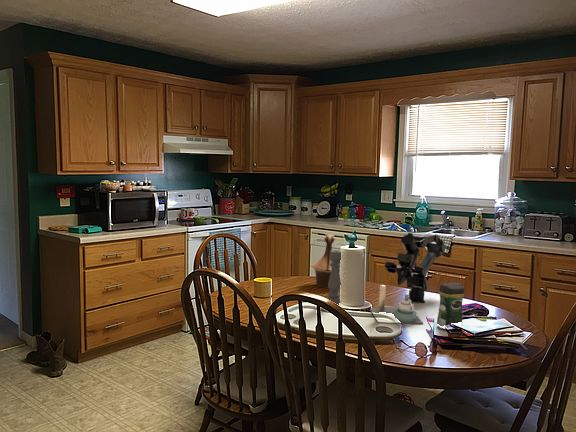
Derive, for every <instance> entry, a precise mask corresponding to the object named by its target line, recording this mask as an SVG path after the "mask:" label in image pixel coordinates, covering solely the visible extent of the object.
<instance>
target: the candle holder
mask: <svg viewBox="0 0 576 432" xmlns="http://www.w3.org/2000/svg"><path fill="white" fill-rule="evenodd" d="M341 251H342V250H338V249H337V250H336V249H332V250H331V251H330V258H331V262H332V263H331V264H330V266H331V267H332V268H331V276H330V279H329V283H328V287H329V288H328V289H329V292H328V293H327V296H326V297H327V298H326V300H327V299H329V300H331V301H333V302H335V303H336V304H338V305H339V303H340V304H341V301H340V298H341V294H340V289H341V288H340V285H341V286H342V281H341V280H342V279H341V275H340V271H341V270H340V264H341V262H340V260H341ZM341 261H342V260H341Z"/></svg>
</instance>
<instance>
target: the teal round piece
mask: <svg viewBox="0 0 576 432" xmlns="http://www.w3.org/2000/svg"><path fill="white" fill-rule="evenodd" d="M416 315H417V312H416V311H415V310H413V313H411V314H405V313H401V312H398V311H396V310H395V313H394V316H395V318H397V319H398V320H399V321H401V322H415V321H416Z"/></svg>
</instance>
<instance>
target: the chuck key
mask: <svg viewBox="0 0 576 432" xmlns="http://www.w3.org/2000/svg"><path fill="white" fill-rule="evenodd" d="M386 293H387V285H385V284H380V285H379V293H378V294H379V295H378V297H379V298H378V307H377V308H378V311H380V312H384V311H385V309H387V310H396V311H398V312H401V313H405V314H411V313H413V311H415V309H414V308H415V307H414V306H415V304H414V303H412V302H411V300H409V298H408V297H409V293H408V294H407V293H406V294H405V295H404V298H402V299H401V301H400V302H398V303H397V306H389V305H386Z"/></svg>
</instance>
